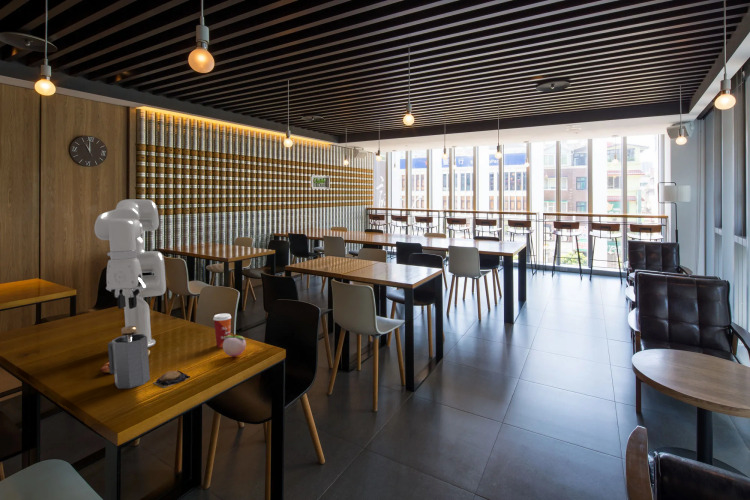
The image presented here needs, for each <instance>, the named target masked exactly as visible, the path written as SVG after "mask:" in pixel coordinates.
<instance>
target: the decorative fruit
mask: <svg viewBox="0 0 750 500" xmlns="http://www.w3.org/2000/svg"><path fill="white" fill-rule="evenodd" d="M226 337H227V338H226ZM224 338H226V339H225V340H224V342H223V348H222V350H223V351H224V353H225V354H226V355H227V356H229V357H234V358H235V357H238V356H239V355H241V354H242V353H243V352H244V351H245V350H246V348H247V341H246V338H245V337H243V336H242V335H235V333H233V334H232V335H231V334H230V335H229V336H225V337H224ZM224 338H223V339H224Z"/></svg>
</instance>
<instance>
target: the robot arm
mask: <svg viewBox="0 0 750 500" xmlns="http://www.w3.org/2000/svg"><path fill="white" fill-rule="evenodd" d="M159 219H160V218H159V211H158V207H157V204H156V203H155V202H154V201H153V200H151V199H144V198H143V199H142V198H141V199H135V198H133V199H127V198H126V199H123V200H120V201H119V202H118V203H117V204H116V207H115V209H112V210H109V211H106V212H103V213H101V214H98V216H97V218H96V219H95V223H94V233H95V234H94V235H96V238H97V239H100V240H101V241H108V243H109V252H107V254H106V255H107V257H110V259H109V260H108V261H107V267H106V287H105V289H106V290H107V291H109V292H111V293H112V294H113V295H114V298H116V305H117V309H118V310H120V309H124V310H123V311H124V325H125V326H124V327H127V326H136V330H137V333H135V334H144V335H146V336H147V345H148V348H150V347H152V346H154V345H155V344H156V339H154V338H152V330H151V313H150V312H151V311H150V306H149V304H148V302H146V300H144V299H143V298H147V297H157V296H163V295H164V294H165V293H166V290H167V282H166V266H165V258H164V255H163V254H162V252H160V251H157V250H152V251H151V250H150V251H146V250H145V241H144V239H143V238H142V235H143V232H153V231H156V230H157V229H158V228H159V225H160V220H159ZM143 273H146V274H147V273H153V274H149V275H143Z"/></svg>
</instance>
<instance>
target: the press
mask: <svg viewBox="0 0 750 500" xmlns="http://www.w3.org/2000/svg"><path fill="white" fill-rule="evenodd" d="M148 350H149V347H148V345H147V336H146V335H144V334H132V342H128V336H127V335H121V336H118V337H116V338H114V339H112V340H111V341H110V342H108V343H107V351H108V360H109V366H110V372H109V374H111V375H114V384H115V387H117V389H132V388H135V387H139V386H143V385H145V384H146V383H147V382H148V381H150V379H151V377H150V361H149V355H148Z"/></svg>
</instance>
